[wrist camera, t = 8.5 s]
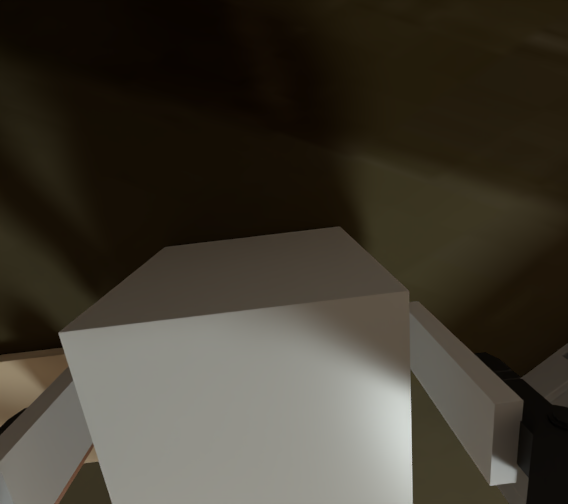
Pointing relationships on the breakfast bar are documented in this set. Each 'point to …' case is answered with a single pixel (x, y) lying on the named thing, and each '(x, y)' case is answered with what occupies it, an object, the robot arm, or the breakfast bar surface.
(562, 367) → the cassette
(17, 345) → the breakfast bar surface
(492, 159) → the breakfast bar surface
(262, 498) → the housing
